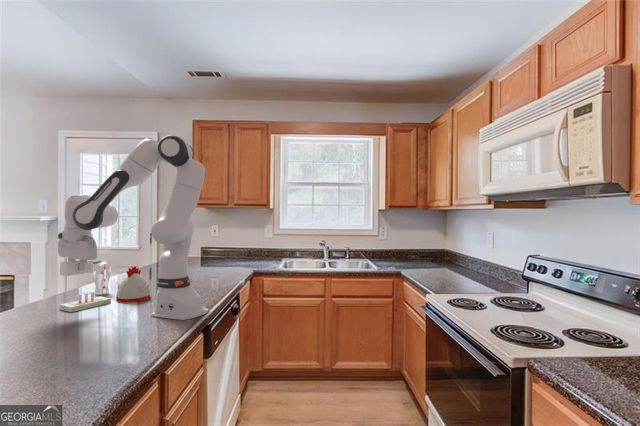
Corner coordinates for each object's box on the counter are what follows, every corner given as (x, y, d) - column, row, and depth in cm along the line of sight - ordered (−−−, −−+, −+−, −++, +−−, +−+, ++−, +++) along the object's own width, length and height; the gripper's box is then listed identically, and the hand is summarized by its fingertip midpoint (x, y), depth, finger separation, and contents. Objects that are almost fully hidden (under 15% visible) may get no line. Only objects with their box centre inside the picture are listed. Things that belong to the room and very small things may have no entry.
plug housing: (104, 270, 142) (104, 258, 142) (66, 276, 129) (66, 263, 129) (98, 269, 144) (98, 258, 144) (60, 275, 131) (60, 262, 131)
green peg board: (110, 303, 149) (110, 290, 149) (70, 312, 135) (70, 298, 135) (99, 300, 153) (100, 288, 153) (59, 309, 138) (59, 296, 138)
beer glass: (113, 292, 167) (114, 262, 167) (100, 295, 161) (100, 264, 161) (103, 291, 170) (103, 261, 169) (89, 294, 163) (90, 263, 163)
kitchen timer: (108, 301, 152) (109, 268, 152) (131, 294, 166) (132, 263, 166) (134, 303, 149) (135, 270, 149) (156, 296, 163) (157, 265, 163)
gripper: (102, 236, 133) (101, 271, 133) (71, 233, 142) (71, 266, 142) (85, 237, 127) (84, 273, 128) (54, 234, 136) (54, 268, 136)
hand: (77, 269), depth 135 cm, fingers closed on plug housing, 4 cm apart
